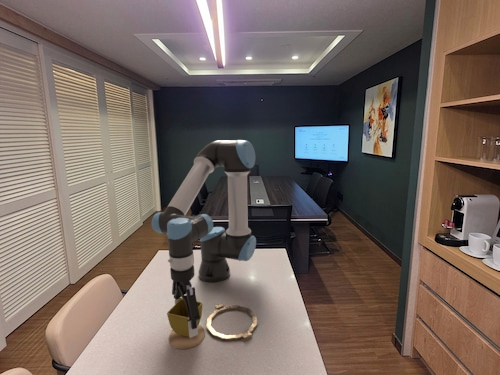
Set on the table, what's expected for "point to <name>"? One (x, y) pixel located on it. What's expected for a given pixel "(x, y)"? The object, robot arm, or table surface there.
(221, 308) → the socket ring
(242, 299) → the table surface
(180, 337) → the coaster
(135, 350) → the table surface
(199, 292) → the table surface
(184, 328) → the flower pot
